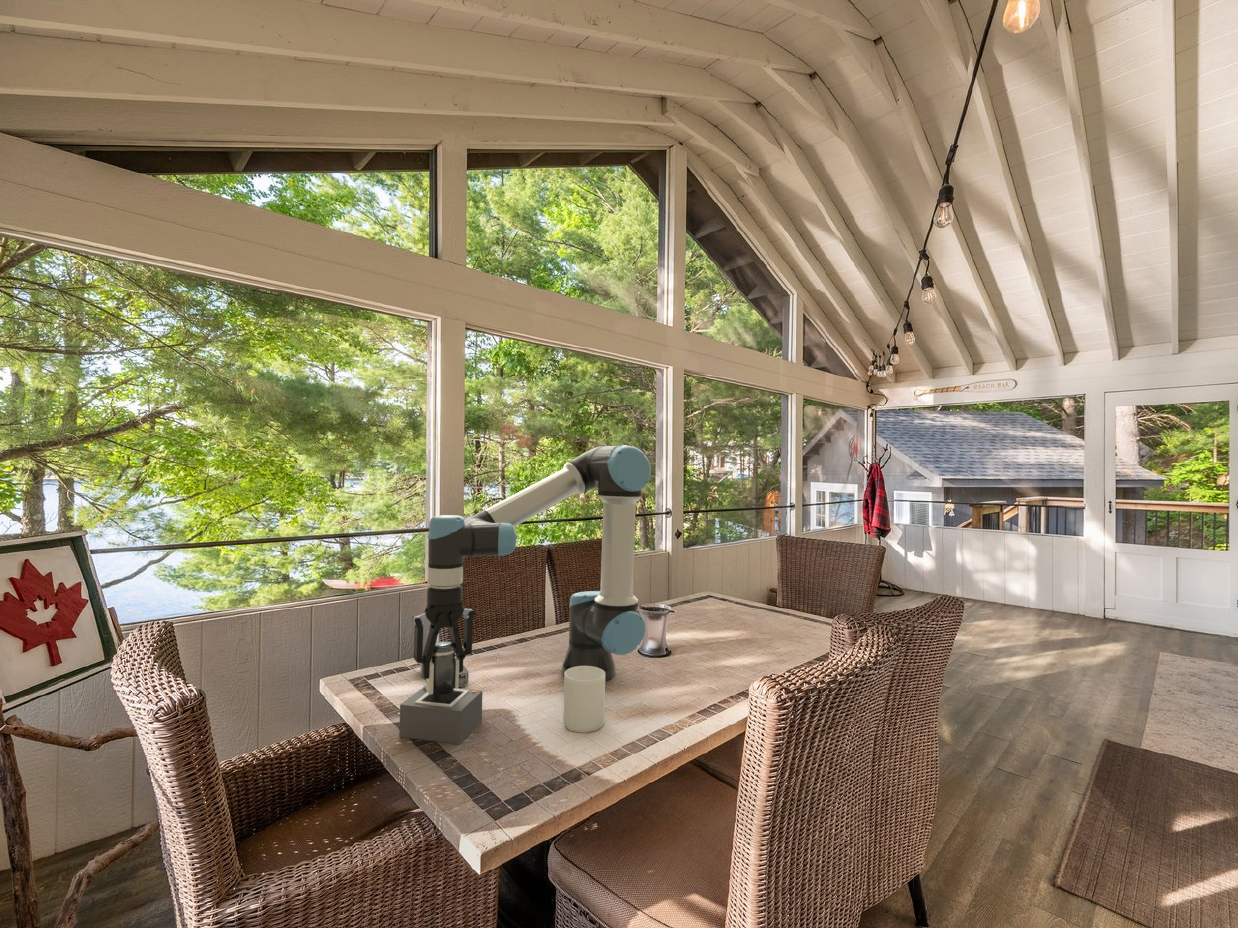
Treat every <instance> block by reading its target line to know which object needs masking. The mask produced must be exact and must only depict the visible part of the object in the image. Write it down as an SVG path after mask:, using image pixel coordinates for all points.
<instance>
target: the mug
mask: <svg viewBox="0 0 1238 928" xmlns="http://www.w3.org/2000/svg"><path fill="white" fill-rule="evenodd" d="M563 680H564V681H563V714H562V715H563V719H562V721H563V725H564V726H565V727H566V728H567V729H568V730H569V731H572V732H575V733H583V734H584V733H585V734H586V733H593V732H596V731H598V730H599V729H601V728H602V726H603V725H604V723H605V712H606V711H605V708H606V707H605V706H606V704H605V702H606V681H605V671H604V670H602V669H600V668H597V667H593V666H577V667H572V668H569V669H568V670H566V671H565V672H564V676H563Z"/></svg>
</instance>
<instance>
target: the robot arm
mask: <svg viewBox="0 0 1238 928" xmlns="http://www.w3.org/2000/svg"><path fill="white" fill-rule="evenodd" d="M651 470H652V468H651V463H650V460H649V459H648V457H647V455H646V454H645V452H643V451H642V450H641V449H639V448H638V447H635V446H633V445H625V444H622V445H602V446H601V445H600V446H597V447H594V448H592V449H589V450H588V451H586V452H584V453H582V454H580V455H579V456H577V457H575V458H574V459H573V458H572V460H569V461H568V462H566V463H564V465H563V468H562V469H561V470H559V471H556V472H554V473H552V474H551V475H549V476H547V477H545V478H543V479H542V480H539V481H537V482H535V483H534V484H532V485H530V486H528V487H526V488H524V489H522V490H520V491H518V492H516V493H515V494H512V495H511V496H508V497H506V498H505V499H503V500H501V501H499V502H497V503H496V504H493V505H492V506H490V507H488V508H486V509H484V510H482V511H479V512H478V513H476V514H474V515H471V516H470V515H469V516H468V515H466V516H462V515H457V514H456V515H454V514H453V515H452V514H451V515H450V514H441V515H435V516H432V518H430V520H429V526H428V527H429V528H428V536H427V539H428V559H427V560H428V561H427V565H428V566H427V584H428V585H429V586H428V587H427V590H426V591H427V592H426V607H425V610H424V612H423V613H421V614H419V615H415V614H414V615H413V616H412V618H411V619H412V622H413V626H414V632H413V633H414V636H413V637H414V638H413V660H414V661H415V662H416V663H417V664H420V663H422V674H421V676H422V678H423V679H424V680H426V683H425V684H426V691H427V692H428V693H429V694H433V680H434V664H433V663H432V662H431V658H432V655H433V651H434V647H435V644H436V643H437V640H438V636H439V634H440V633H441V629H443V628H448V629H449V633H450V636H451V640H452V643H454V644H455V648H456V650H455V671H454V688H455V689H459V688H460V687H459V672H462V671H463V666H464V660H465V658H466V656H468V655H471V654H472V653H473V621H474V617H475V615H476V611H474V610H473V608H470V607H469V608H466V607H464V606H463V590H464V589H463V586H462V584H463V582H464V559H465V558H472V557H488V556H489V557H490V556H493V557H494V556H498V557H499V556H505V555H511V554H512V553H513V552H514V551H515V549H516V545H517V532H516V528H515V527H516V526H518V525H520V524H522V523H525V522H526V521H528V520H529V519H531V518H533V517H535V516H536V515H539V514H541V513H542V512H544V511H546V510H548V509H549V508H552V507H553V506H555V505H557V504H559V503H560V502H562V501H564V500H566V499H568V498H570V497H571V496H573V495H575V494H578V495H582V494H584V493H586V492H588V491H590V490H594V489H597V497H598V498H599V499H600V500H601V501H602V503H603V504H602V505H603V507H602V532H601V533H602V535H601V560H600V561H601V562H600V565H601V566H600V590H590V591H589V590H588V591H587V590H586V591H580V592H575V593H572V594H571V596H570V599H569V605H568V608H569V609H568V610H569V612H568V613H569V616H568V617H569V619H568V622H569V623H568V624H569V625H568V647H567V650H566V653H565V656H564V659H563V662H562V666H561V674H562V676H563V677H564V672H565V671H566V670H568V669H569V668H572V667H577V666H593V667H597V668H600V669H602V670H604V671H605V682H606V681H608V680H611V679H612V678H613V677H615V675H616V664H615V661H614V656H613V654H614V655H619V656H625V655H628V654H630V653H632V652H633V651H635V650H637V647H638V646H640V645H641V643H642V642H643V640H644V637H645V634H646V623H645V619H644V618H643V617H642V615H641V613H639V612H638V611H639V609H638V608H639V599H638V598H637V597H636V596H635V595H634V594H633V591H634V590H633V589H634V565H635V561H634V559H635V533H636V532H635V531H636V529H635V528H636V504H637V502H639V501H640V500H641V499H642V496H643V494H642V493H643V492H642V491H643V489H644V488H645V487H646V485H647V484H648V483H649V481H650V479H651V474H652V473H651V472H652V471H651ZM461 616H462V617H463V636H462V639H463V640H462V639H461V635H460V630H459V625H458V620H459V619H461ZM426 619H427V620H428V621H429V623H430V625H429V632H428V634H427V635H428V636H427V639H426V643H425V645H424V625H425V623H426ZM461 640H462V641H461ZM423 648H424V649H423Z"/></svg>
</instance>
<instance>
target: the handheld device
mask: <svg viewBox="0 0 1238 928" xmlns="http://www.w3.org/2000/svg"><path fill="white" fill-rule="evenodd" d="M419 669H420V672H421V674H420V675H422V663H419ZM469 676H470V674H469V671H468V669H467V667H465V666H464V665H463V671H462V672H459V688H465V687H466V686H467V685H468V683H469Z"/></svg>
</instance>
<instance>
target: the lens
mask: <svg viewBox="0 0 1238 928" xmlns="http://www.w3.org/2000/svg"><path fill="white" fill-rule="evenodd" d="M455 650H456V648H455V644H454V643H453V642H450V641H440V642H436V644H435V647H434V651H433V655H432V658H431V662H432V663H433V664H434V680H433V694H435V695H445V694H449V693H451V692H453V691H454V671H455V656H456V654H455Z"/></svg>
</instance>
